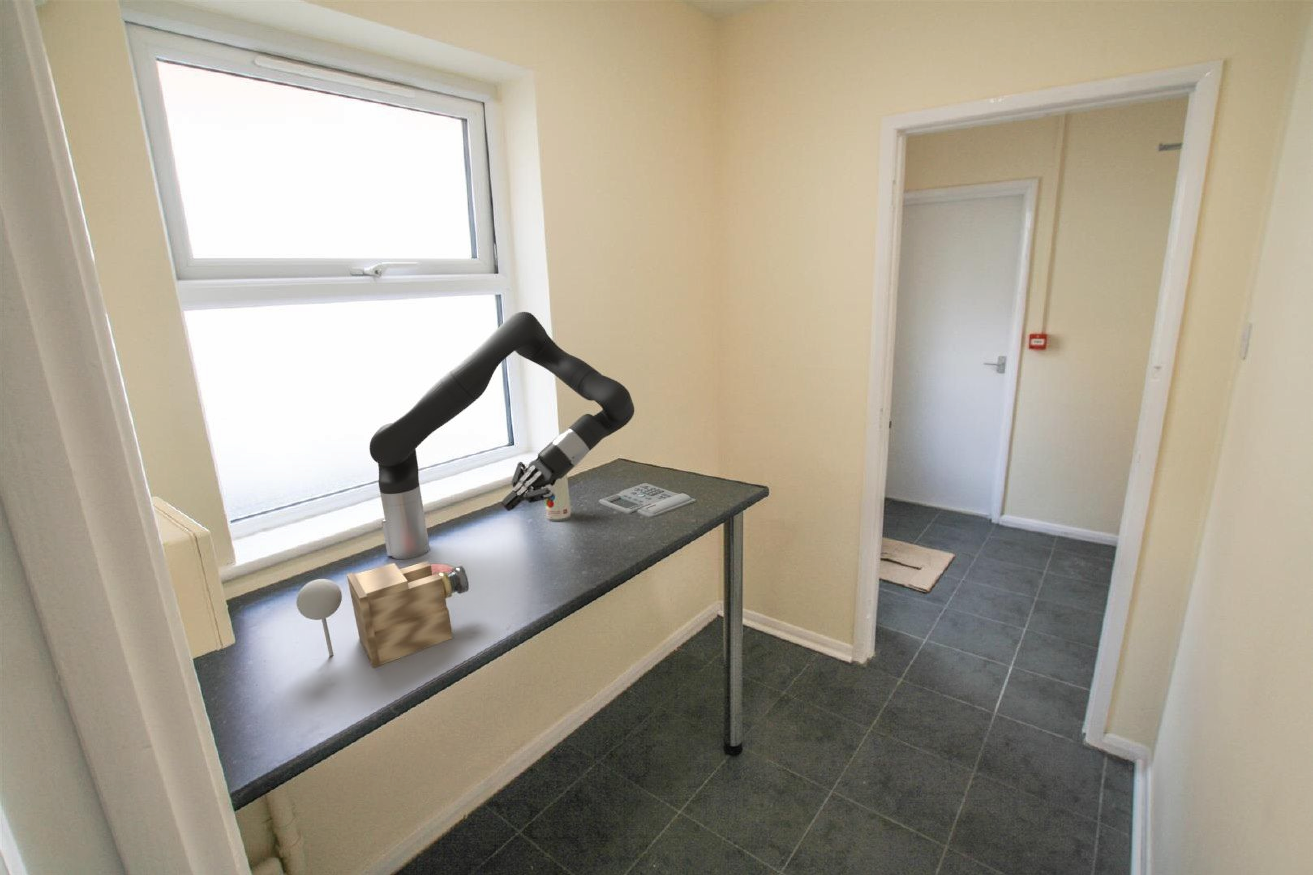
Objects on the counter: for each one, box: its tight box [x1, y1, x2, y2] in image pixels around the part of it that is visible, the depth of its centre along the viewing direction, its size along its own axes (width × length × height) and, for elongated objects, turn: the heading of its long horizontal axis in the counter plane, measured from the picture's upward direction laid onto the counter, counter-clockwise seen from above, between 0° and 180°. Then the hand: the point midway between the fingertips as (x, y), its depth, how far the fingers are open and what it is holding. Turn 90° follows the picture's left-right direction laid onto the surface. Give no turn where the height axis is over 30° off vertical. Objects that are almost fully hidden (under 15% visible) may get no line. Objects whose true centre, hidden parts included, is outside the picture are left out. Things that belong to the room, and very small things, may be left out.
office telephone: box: [598, 482, 697, 518], centre depth 182 cm, size 23×3×20 cm
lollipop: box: [296, 578, 343, 657], centre depth 110 cm, size 7×7×15 cm
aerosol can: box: [544, 473, 572, 523], centre depth 171 cm, size 7×7×20 cm
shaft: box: [436, 565, 470, 599], centre depth 116 cm, size 17×5×5 cm, turn 126°
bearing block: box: [346, 560, 454, 668], centre depth 114 cm, size 14×12×14 cm
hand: (504, 507), depth 131 cm, fingers closed
